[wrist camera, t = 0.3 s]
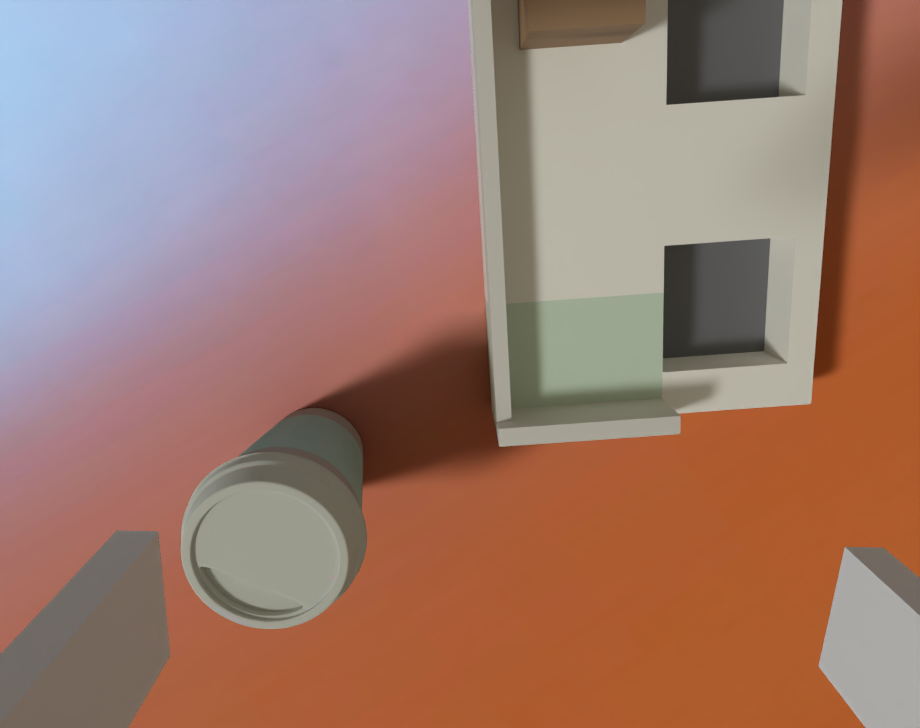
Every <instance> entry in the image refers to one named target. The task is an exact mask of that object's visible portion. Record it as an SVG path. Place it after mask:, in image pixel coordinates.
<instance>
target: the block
mask: <svg viewBox="0 0 920 728" xmlns="http://www.w3.org/2000/svg"><path fill="white" fill-rule="evenodd" d="M645 12H646V0H518V24H519V48H520V50H527V49H541V48H555V47H569V46H583V45H597V44H611V43H622V42H623V41H624V40H626V39H627V38H628V37H629V36H630V35H632V34H633V33H634V32H635V31H637V30H638V29H639V28H640V27H642V26H643V25H644V24H645Z"/></svg>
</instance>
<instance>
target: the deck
mask: <svg viewBox="0 0 920 728" xmlns="http://www.w3.org/2000/svg"><path fill="white" fill-rule="evenodd" d="M841 13H842V0H646V12H645V24H644V25H643V26H642V27H640V28H639V29H638V30H637V31H635V32H634V33H633V34H632V35H630V36H629V37H628V38H627V39H626V40H624V41H623V42H622V43H611V44H597V45H583V46H569V47H555V48H541V49H527V50H520V48H519V24H518V0H468V14H469V31H470V48H471V65H472V82H473V99H474V116H475V133H476V150H477V167H478V184H479V201H480V218H481V235H482V252H483V269H484V286H485V303H486V320H487V337H488V354H489V371H490V389H491V406H492V413H493V418H494V423H495V428H496V433H497V438H498V443H499V447H504V446H518V445H532V444H546V443H560V442H574V441H588V440H602V439H616V438H630V437H644V436H658V435H672V434H680V415H679V414H678V413H690V412H704V411H718V410H732V409H746V408H760V407H774V406H788V405H802V404H811V396H812V383H813V371H814V358H815V345H816V332H817V320H818V307H819V294H820V281H821V268H822V256H823V243H824V230H825V217H826V205H827V192H828V179H829V166H830V153H831V141H832V128H833V115H834V102H835V90H836V77H837V64H838V51H839V38H840V26H841Z"/></svg>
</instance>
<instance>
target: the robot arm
mask: <svg viewBox="0 0 920 728" xmlns="http://www.w3.org/2000/svg"><path fill="white" fill-rule="evenodd" d="M169 657H170V647H169V637H168V627H167V616H166V606H165V596H164V585H163V575H162V565H161V554H160V544H159V534H158V532H155V531H116V532H115V533H114V534H113V535H112V536H111V537H110V538H109V540H108V541H107V542H106V543H105V544H104V545H103V546H102V547H101V548H100V549H99V550H98V551H97V552H96V553H95V554H94V555H93V557H92V558H91V559H90V560H89V561H88V562H87V563H86V564H85V565H84V566H83V567H82V568H81V569H80V570H79V571H78V572H77V574H76V575H75V576H74V577H73V578H72V579H71V580H70V581H69V582H68V583H67V584H66V585H65V586H64V587H63V588H62V589H61V591H60V592H59V593H58V594H57V595H56V596H55V597H54V598H53V599H52V600H51V601H50V602H49V603H48V604H47V605H46V606H45V608H44V609H43V610H42V611H41V612H40V613H39V614H38V615H37V616H36V617H35V618H34V619H33V620H32V621H31V622H30V623H29V625H28V626H27V627H26V628H25V629H24V630H23V631H22V632H21V633H20V634H19V635H18V636H17V637H16V638H15V639H14V640H13V642H12V643H11V644H10V645H9V646H8V647H7V648H6V649H5V650H4V651H3V652H2V653H1V654H0V728H128V727H129V726H130V724H131V722H132V720H133V719H134V717H135V715H136V714H137V712H138V710H139V708H140V707H141V705H142V703H143V702H144V700H145V698H146V696H147V695H148V693H149V691H150V689H151V688H152V686H153V684H154V683H155V681H156V679H157V677H158V676H159V674H160V672H161V671H162V669H163V667H164V665H165V664H166V662H167V660H168V658H169ZM819 668H820V669H821V670H822V671H823V673H824V674H825V675H826V677H827V678H828V679H829V681H830V682H831V683H832V684H833V686H834V687H835V688H836V690H837V691H838V692H839V694H840V695H841V696H842V698H843V699H844V700H845V701H846V703H847V704H848V705H849V707H850V708H851V709H852V711H853V712H854V713H855V714H856V716H857V717H858V718H859V720H860V721H861V722H862V724H863V725H864V726H865V727H866V728H920V578H919V577H918V576H917V575H915V574H914V573H913V572H912V571H911V570H909V569H908V568H907V567H906V566H905V565H903V564H902V563H901V562H900V561H899V560H898V559H896V558H895V557H894V556H893V555H892V554H890V553H889V552H888V551H887V550H886V549H884V548H867V547H845V549H844V553H843V558H842V562H841V567H840V572H839V576H838V581H837V585H836V590H835V594H834V599H833V603H832V608H831V612H830V617H829V621H828V626H827V631H826V635H825V640H824V644H823V649H822V653H821V658H820V662H819Z"/></svg>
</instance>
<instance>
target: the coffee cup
mask: <svg viewBox="0 0 920 728" xmlns="http://www.w3.org/2000/svg"><path fill="white" fill-rule="evenodd" d="M362 486H363V446H362V442H361V439H360V436H359V434H358V432H357V431H356V429H355V428H354V427H353V425H352V424H351V423H350V422H349V421H348V420H346V419H345V418H344V417H342V416H341V415H339V414H337V413H335V412H333V411H330V410H326V409H321V408H307V409H302V410H298V411H296V412H293V413H291V414H289V415H288V416H286V417H285V418H284V419H283V420H281V421H280V422H279V423H278V424H276V425H275V426H274V427H273V428H272V429H270V430H269V431H268V432H267V433H266V434H264V435H263V436H262V437H261V438H260V439H258V440H257V441H256V442H255V443H254V444H252V445H251V446H250V447H249V448H248V449H247V450H245V451H244V452H243V453H242V454H241V455H239V456H238V457H237V458H234V459H232V460H229V461H227V462H225V463H224V464H222V465H220V466H219V467H217V468H216V469H214V470H213V471H212V472H211V473H209V474H208V475H207V476H206V477H205V478H204V479H203V480H202V481H201V483H200V484H199V485H198V487H197V488H196V490H195V491H194V493H193V495H192V497H191V499H190V501H189V504H188V506H187V509H186V511H185V514H184V518H183V523H182V531H181V559H182V565H183V568H184V572H185V574H186V577H187V579H188V581H189V583H190V585H191V587H192V588H193V590H194V591H195V592H196V594H197V595H198V596H199V597H200V599H201V600H202V601H203V602H204V603H205V604H206V605H208V606H209V607H210V608H211V609H212V610H214V611H215V612H217V613H218V614H220V615H221V616H223V617H225V618H227V619H229V620H231V621H233V622H236V623H239V624H242V625H245V626H249V627H254V628H261V629H280V628H287V627H292V626H296V625H299V624H302V623H304V622H307V621H309V620H311V619H313V618H315V617H316V616H318V615H319V614H321V613H322V612H323V611H325V610H326V609H327V608H328V607H329V606H330V605H331V604H332V603H333V602H335V601H336V600H337V599H338V598H339V597H340V596H341V595H342V594H343V593H344V592H345V591H346V590H347V589H348V587H349V586H350V585H351V583H352V581H353V580H354V578H355V576H356V575H357V573H358V571H359V569H360V567H361V565H362V562H363V559H364V556H365V551H366V544H367V532H366V525H365V520H364V517H363V513H362Z"/></svg>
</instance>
